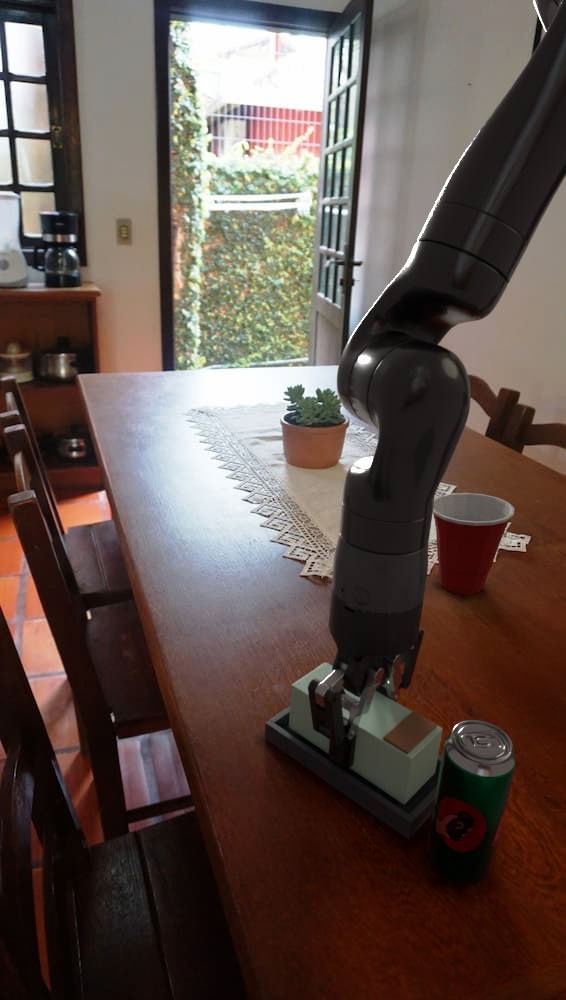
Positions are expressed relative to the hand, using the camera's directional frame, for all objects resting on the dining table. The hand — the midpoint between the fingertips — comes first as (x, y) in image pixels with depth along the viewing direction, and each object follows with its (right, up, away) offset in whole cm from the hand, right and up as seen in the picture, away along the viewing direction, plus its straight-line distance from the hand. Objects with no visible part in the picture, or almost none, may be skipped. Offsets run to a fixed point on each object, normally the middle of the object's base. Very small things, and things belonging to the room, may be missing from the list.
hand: (359, 746), depth 62 cm
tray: (0, -2, +1) cm, 2 cm away
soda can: (+7, -6, -9) cm, 12 cm away
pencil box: (0, 0, 0) cm, 0 cm away
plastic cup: (+17, +11, +32) cm, 38 cm away
